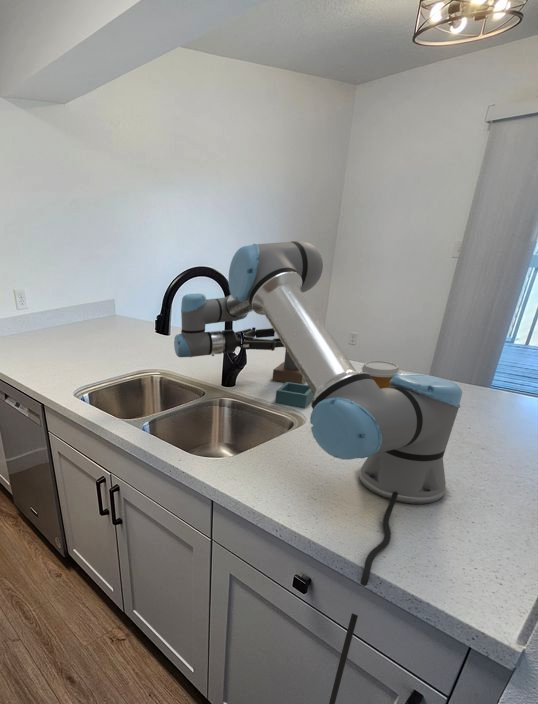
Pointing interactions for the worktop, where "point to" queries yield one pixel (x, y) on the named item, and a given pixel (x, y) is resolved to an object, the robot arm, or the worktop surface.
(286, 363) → the bottle
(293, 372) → the stand
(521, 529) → the worktop surface
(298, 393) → the holder
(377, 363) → the disposable coffee cup
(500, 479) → the worktop surface
